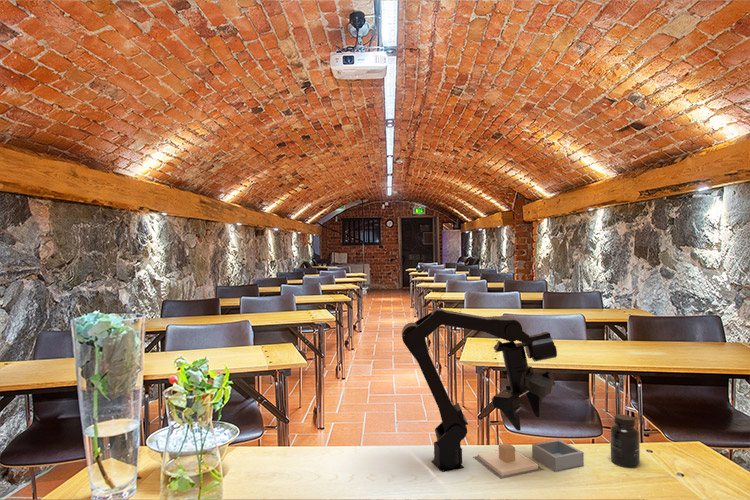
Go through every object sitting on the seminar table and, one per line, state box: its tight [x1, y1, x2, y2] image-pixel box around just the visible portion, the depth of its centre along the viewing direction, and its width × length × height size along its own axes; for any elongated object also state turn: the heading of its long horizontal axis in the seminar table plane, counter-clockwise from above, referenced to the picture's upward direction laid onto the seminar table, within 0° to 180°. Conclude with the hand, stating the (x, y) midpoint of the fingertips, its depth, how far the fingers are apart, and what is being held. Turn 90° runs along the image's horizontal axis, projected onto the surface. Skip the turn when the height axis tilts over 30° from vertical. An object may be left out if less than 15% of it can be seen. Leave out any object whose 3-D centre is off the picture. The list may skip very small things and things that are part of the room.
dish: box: [531, 439, 585, 473], centre depth 123 cm, size 9×9×4 cm
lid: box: [477, 442, 539, 476], centre depth 122 cm, size 11×11×4 cm
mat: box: [472, 455, 544, 479], centre depth 122 cm, size 13×13×1 cm
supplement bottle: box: [609, 413, 641, 468], centre depth 123 cm, size 7×7×12 cm
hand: (528, 423), depth 121 cm, fingers open, 9 cm apart
